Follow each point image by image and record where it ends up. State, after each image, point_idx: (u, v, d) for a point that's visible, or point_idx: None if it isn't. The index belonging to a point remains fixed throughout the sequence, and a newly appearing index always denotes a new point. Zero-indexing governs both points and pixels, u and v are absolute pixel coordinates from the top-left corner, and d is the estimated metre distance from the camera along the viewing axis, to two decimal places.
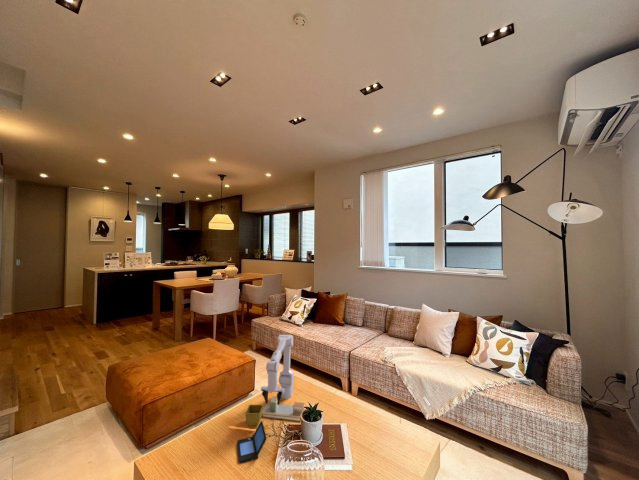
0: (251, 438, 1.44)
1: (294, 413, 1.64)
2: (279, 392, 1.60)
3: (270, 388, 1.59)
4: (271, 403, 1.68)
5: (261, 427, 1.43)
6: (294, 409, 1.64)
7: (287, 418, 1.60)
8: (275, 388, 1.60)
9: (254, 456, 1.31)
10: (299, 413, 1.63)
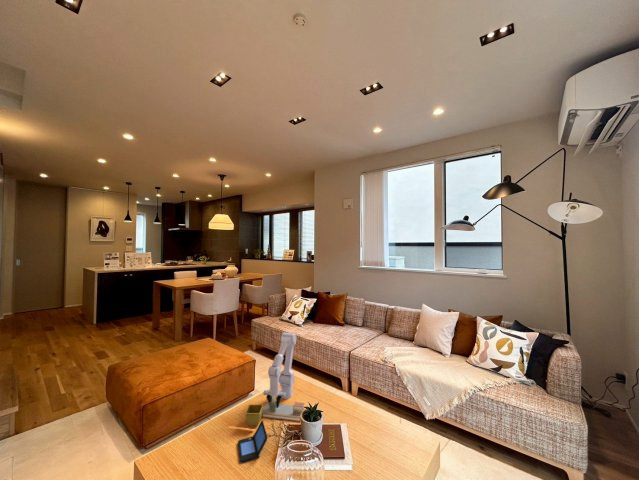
0: (252, 438, 1.44)
1: (294, 413, 1.64)
2: (280, 396, 1.70)
3: (272, 392, 1.69)
4: (271, 403, 1.68)
5: (262, 427, 1.43)
6: (294, 409, 1.64)
7: (287, 418, 1.60)
8: (277, 392, 1.69)
9: (255, 456, 1.31)
10: (299, 413, 1.63)
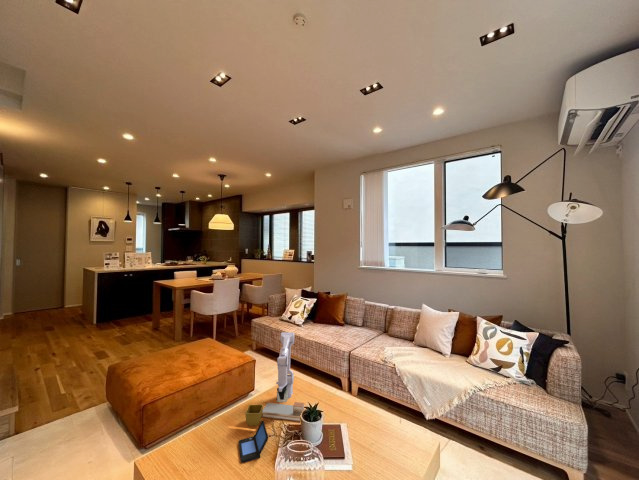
0: (252, 438, 1.44)
1: (294, 413, 1.64)
2: None
3: None
4: None
5: (262, 427, 1.43)
6: (294, 409, 1.64)
7: (287, 418, 1.60)
8: (279, 383, 1.66)
9: (256, 455, 1.31)
10: (299, 413, 1.63)
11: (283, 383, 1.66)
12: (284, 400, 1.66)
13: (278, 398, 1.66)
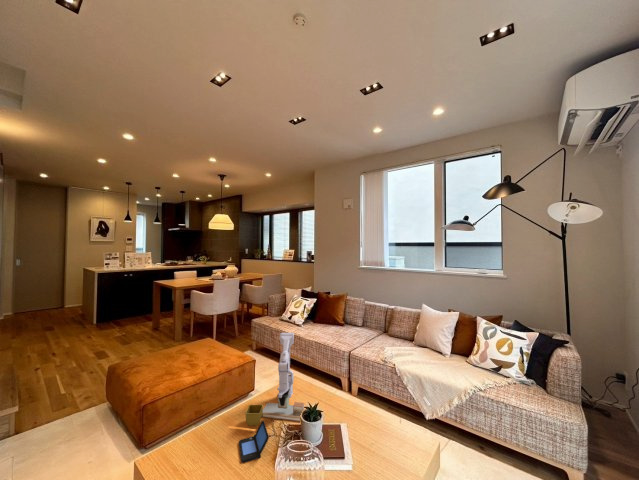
0: (253, 438, 1.44)
1: (294, 413, 1.64)
2: None
3: None
4: None
5: (263, 426, 1.43)
6: (294, 409, 1.64)
7: (287, 418, 1.60)
8: (280, 389, 1.66)
9: (257, 455, 1.32)
10: (299, 413, 1.63)
11: (284, 389, 1.65)
12: (285, 406, 1.65)
13: (279, 404, 1.66)
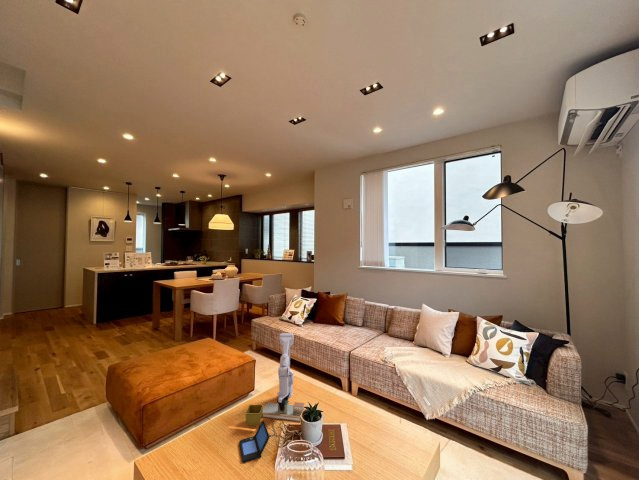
0: (253, 438, 1.44)
1: (294, 413, 1.64)
2: None
3: None
4: None
5: (263, 426, 1.43)
6: (294, 409, 1.64)
7: (287, 418, 1.60)
8: (280, 393, 1.66)
9: (258, 455, 1.32)
10: (299, 413, 1.63)
11: (284, 394, 1.65)
12: (285, 412, 1.65)
13: (279, 409, 1.66)
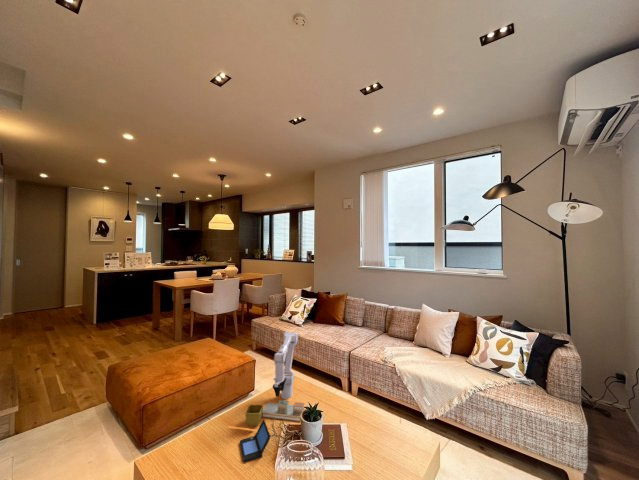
0: (253, 437, 1.44)
1: (294, 413, 1.64)
2: None
3: None
4: None
5: (264, 426, 1.43)
6: (294, 409, 1.64)
7: (287, 418, 1.60)
8: (276, 379, 1.71)
9: (258, 455, 1.32)
10: (299, 413, 1.63)
11: (279, 379, 1.70)
12: (285, 412, 1.65)
13: (279, 409, 1.66)
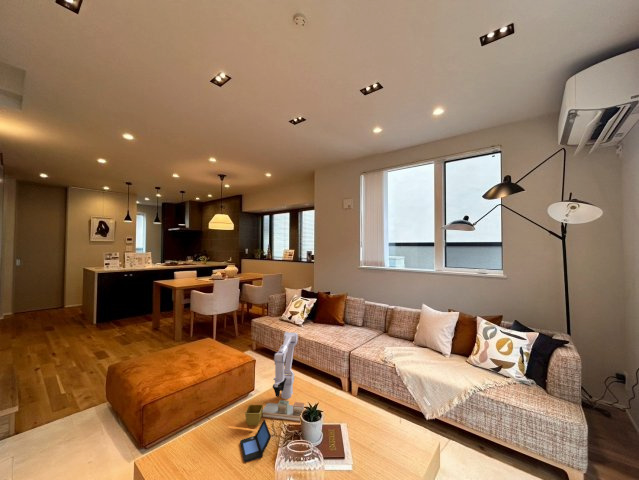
0: (254, 437, 1.44)
1: (294, 413, 1.64)
2: None
3: None
4: None
5: (264, 426, 1.44)
6: (294, 409, 1.64)
7: (287, 418, 1.60)
8: (276, 379, 1.71)
9: (259, 455, 1.32)
10: (299, 413, 1.63)
11: (279, 379, 1.70)
12: (285, 412, 1.65)
13: (279, 409, 1.66)
